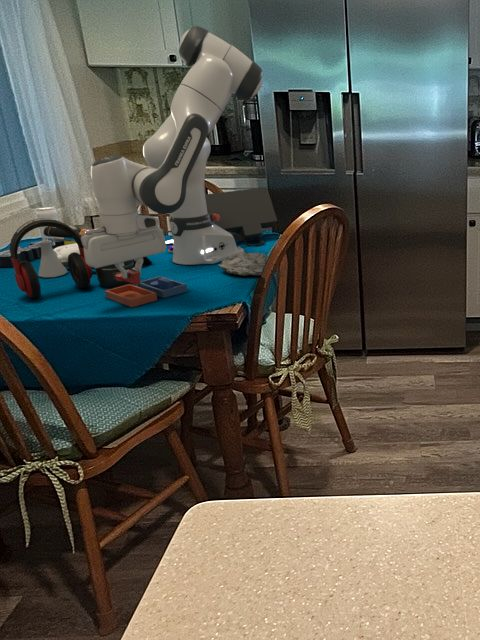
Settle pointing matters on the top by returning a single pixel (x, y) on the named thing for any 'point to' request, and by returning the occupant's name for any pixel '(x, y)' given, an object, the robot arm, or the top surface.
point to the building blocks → (170, 249)
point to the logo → (28, 252)
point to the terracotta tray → (131, 295)
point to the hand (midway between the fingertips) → (132, 276)
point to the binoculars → (66, 251)
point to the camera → (243, 211)
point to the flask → (50, 261)
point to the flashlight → (57, 232)
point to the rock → (244, 263)
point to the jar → (112, 275)
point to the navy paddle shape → (162, 284)
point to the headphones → (26, 271)
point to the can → (47, 213)
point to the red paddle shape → (133, 279)
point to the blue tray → (175, 290)
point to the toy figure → (81, 231)
